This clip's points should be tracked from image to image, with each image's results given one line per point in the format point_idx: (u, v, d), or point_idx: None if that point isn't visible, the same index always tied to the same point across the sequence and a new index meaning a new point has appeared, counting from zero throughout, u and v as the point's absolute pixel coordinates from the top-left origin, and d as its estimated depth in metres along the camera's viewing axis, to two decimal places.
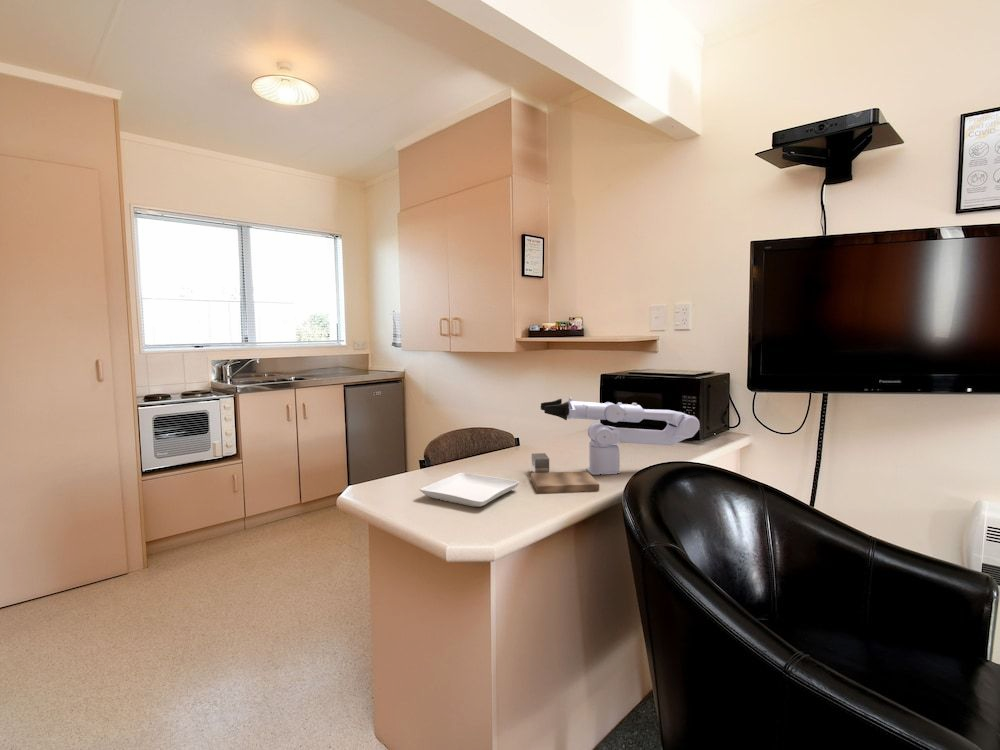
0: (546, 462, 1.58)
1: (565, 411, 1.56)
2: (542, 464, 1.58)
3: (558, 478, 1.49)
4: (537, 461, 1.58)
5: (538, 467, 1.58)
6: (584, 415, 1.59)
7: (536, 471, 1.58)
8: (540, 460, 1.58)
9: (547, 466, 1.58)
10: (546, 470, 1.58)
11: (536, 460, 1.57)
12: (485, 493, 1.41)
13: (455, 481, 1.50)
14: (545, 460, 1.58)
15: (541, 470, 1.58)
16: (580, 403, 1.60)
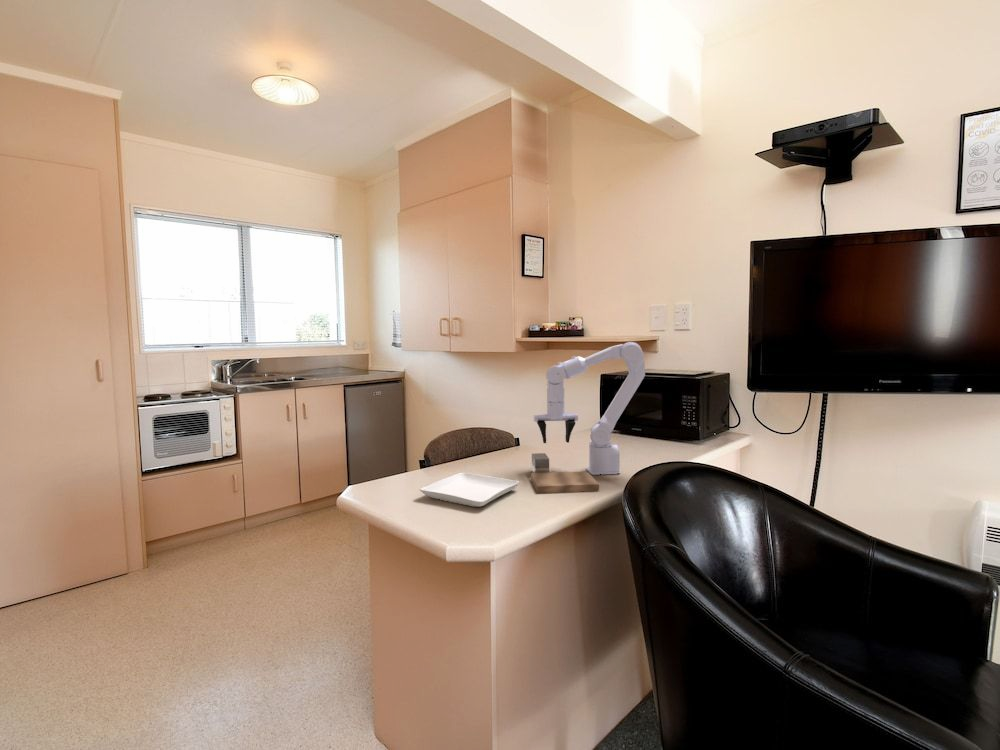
0: (546, 462, 1.58)
1: None
2: (542, 464, 1.58)
3: (558, 478, 1.49)
4: (537, 461, 1.58)
5: (538, 467, 1.58)
6: (549, 403, 1.63)
7: (536, 471, 1.58)
8: (540, 460, 1.58)
9: (547, 466, 1.58)
10: (546, 470, 1.58)
11: (536, 460, 1.57)
12: (485, 493, 1.41)
13: (455, 481, 1.50)
14: (545, 460, 1.58)
15: (541, 470, 1.58)
16: None
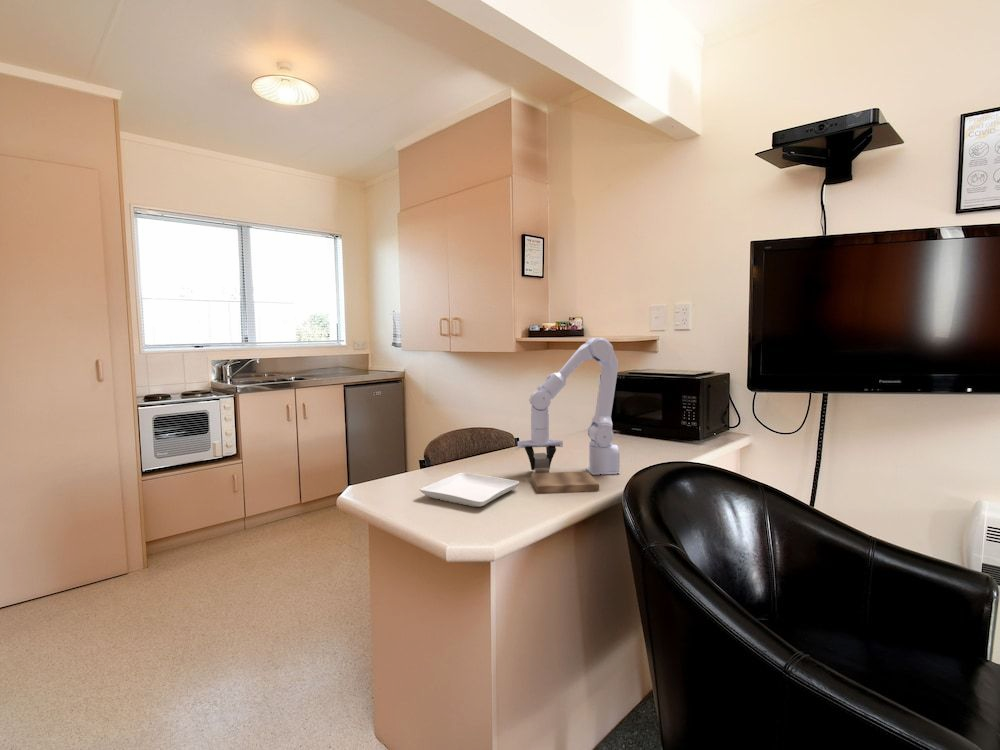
0: (546, 462, 1.58)
1: None
2: (542, 464, 1.58)
3: (558, 478, 1.49)
4: (537, 461, 1.58)
5: (538, 467, 1.58)
6: (532, 429, 1.59)
7: (536, 471, 1.58)
8: (540, 460, 1.58)
9: (547, 466, 1.58)
10: (546, 470, 1.58)
11: (536, 460, 1.57)
12: (485, 493, 1.41)
13: (455, 481, 1.50)
14: (545, 460, 1.58)
15: (541, 469, 1.58)
16: None
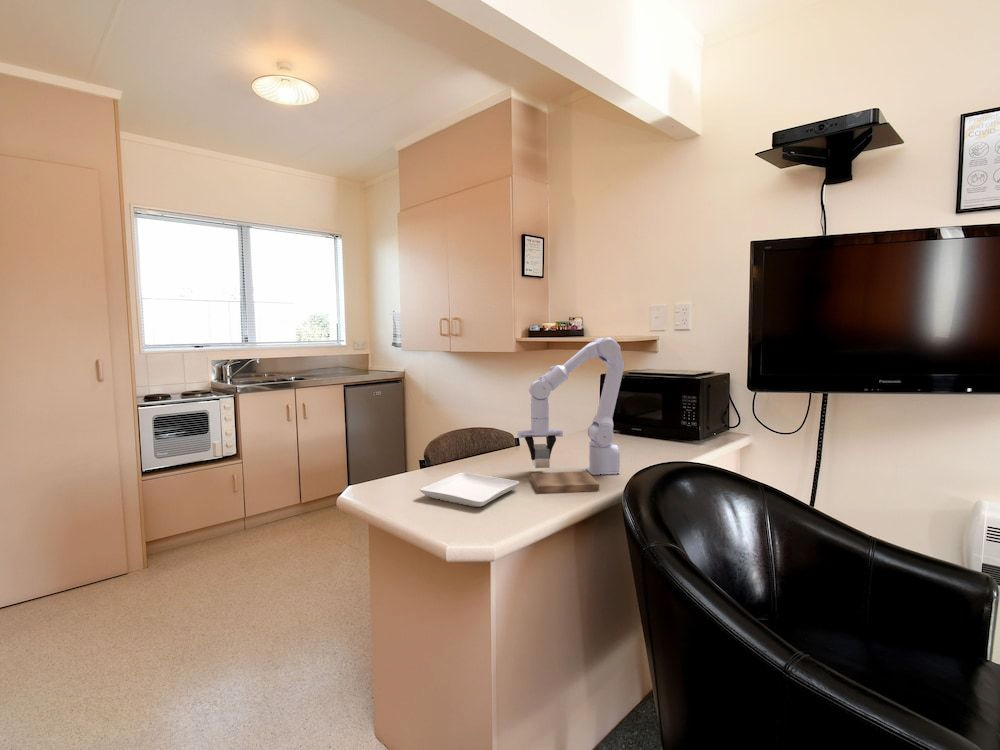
0: (546, 452, 1.58)
1: None
2: (542, 454, 1.58)
3: (558, 478, 1.49)
4: (537, 451, 1.57)
5: (538, 457, 1.57)
6: (532, 419, 1.59)
7: (536, 461, 1.58)
8: (540, 450, 1.57)
9: (547, 456, 1.58)
10: (546, 460, 1.58)
11: (536, 450, 1.57)
12: (485, 493, 1.41)
13: (455, 481, 1.50)
14: (545, 450, 1.57)
15: (541, 460, 1.58)
16: None
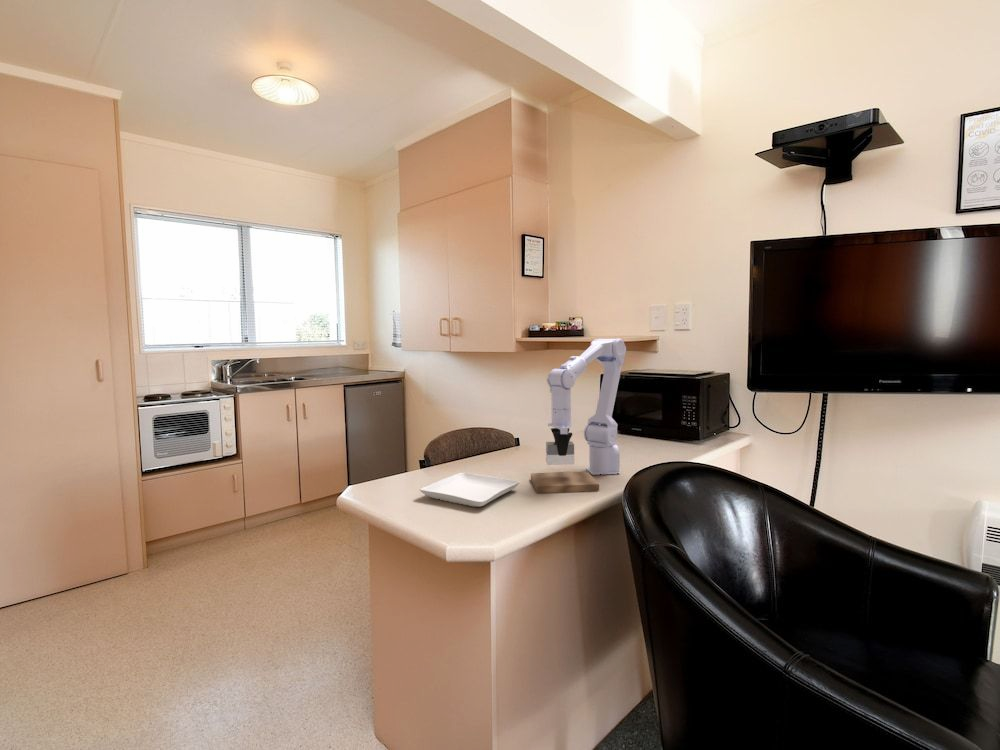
0: None
1: (562, 435, 1.45)
2: None
3: (558, 478, 1.49)
4: (573, 446, 1.48)
5: (573, 452, 1.48)
6: (566, 411, 1.46)
7: None
8: None
9: None
10: None
11: None
12: (485, 493, 1.41)
13: (455, 481, 1.50)
14: (572, 443, 1.51)
15: None
16: (553, 415, 1.47)
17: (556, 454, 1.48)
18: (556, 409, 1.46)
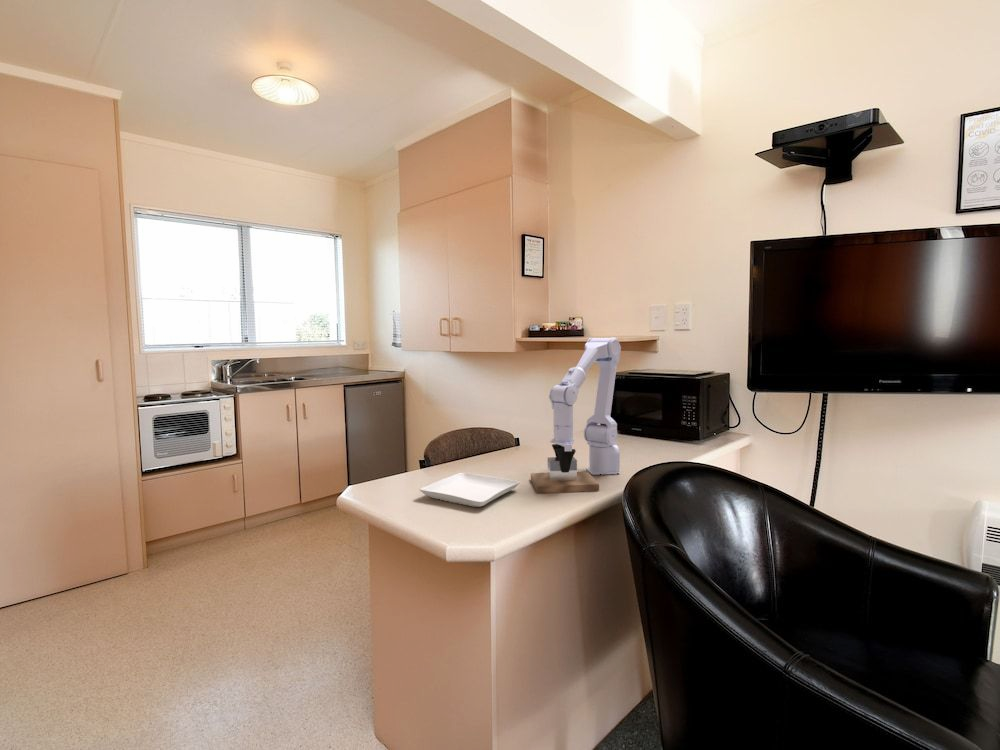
0: None
1: (566, 451, 1.45)
2: None
3: None
4: None
5: None
6: (569, 427, 1.46)
7: None
8: None
9: None
10: None
11: None
12: (485, 493, 1.41)
13: (455, 481, 1.50)
14: None
15: None
16: (556, 431, 1.47)
17: (559, 470, 1.47)
18: (559, 426, 1.46)
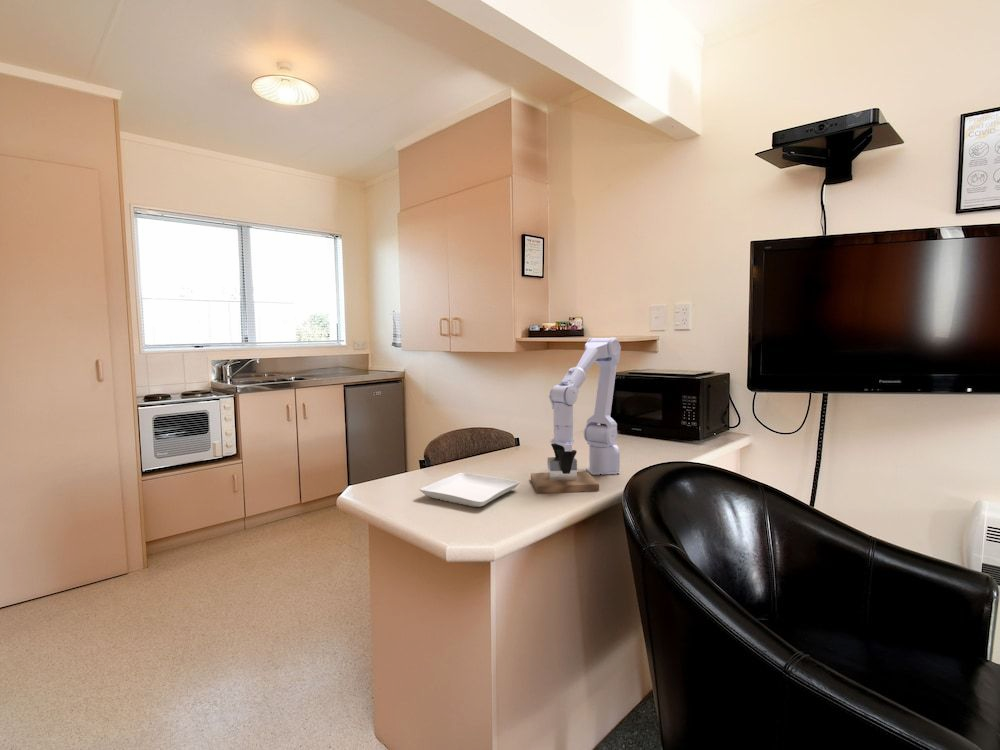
0: None
1: (567, 452, 1.44)
2: None
3: None
4: None
5: None
6: (569, 427, 1.46)
7: None
8: None
9: None
10: None
11: None
12: (485, 493, 1.41)
13: (455, 481, 1.50)
14: None
15: None
16: (556, 432, 1.47)
17: (559, 470, 1.47)
18: (559, 426, 1.46)
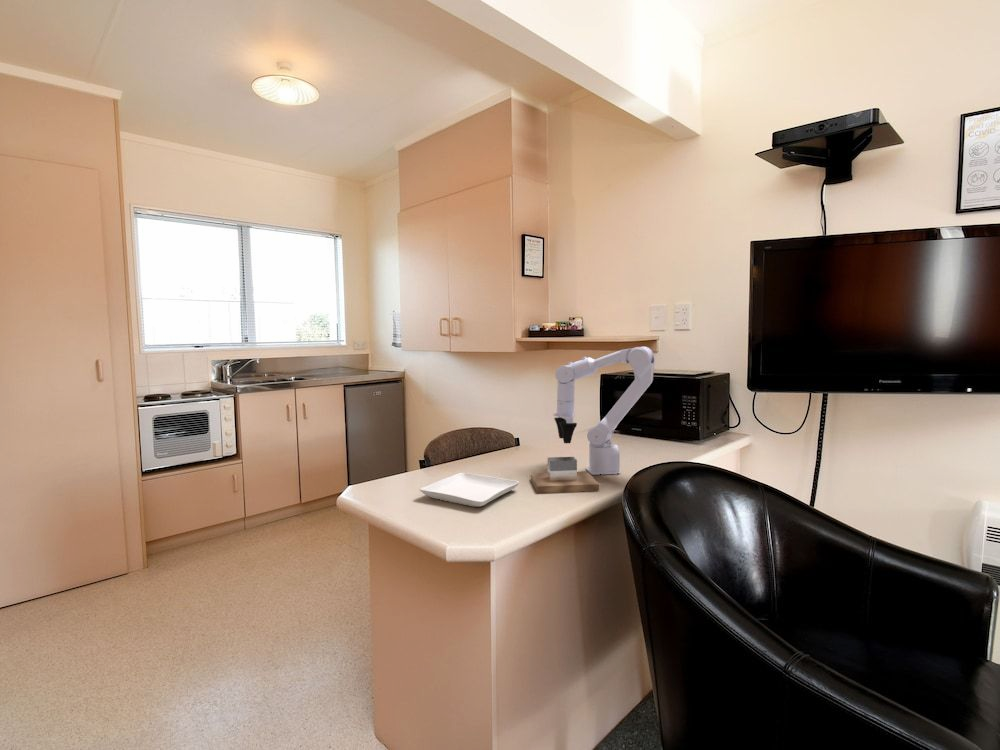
0: None
1: (568, 424, 1.63)
2: None
3: None
4: None
5: None
6: (571, 402, 1.65)
7: None
8: None
9: None
10: None
11: None
12: (485, 493, 1.41)
13: (455, 481, 1.50)
14: None
15: None
16: (559, 406, 1.66)
17: (559, 470, 1.47)
18: (562, 401, 1.65)
